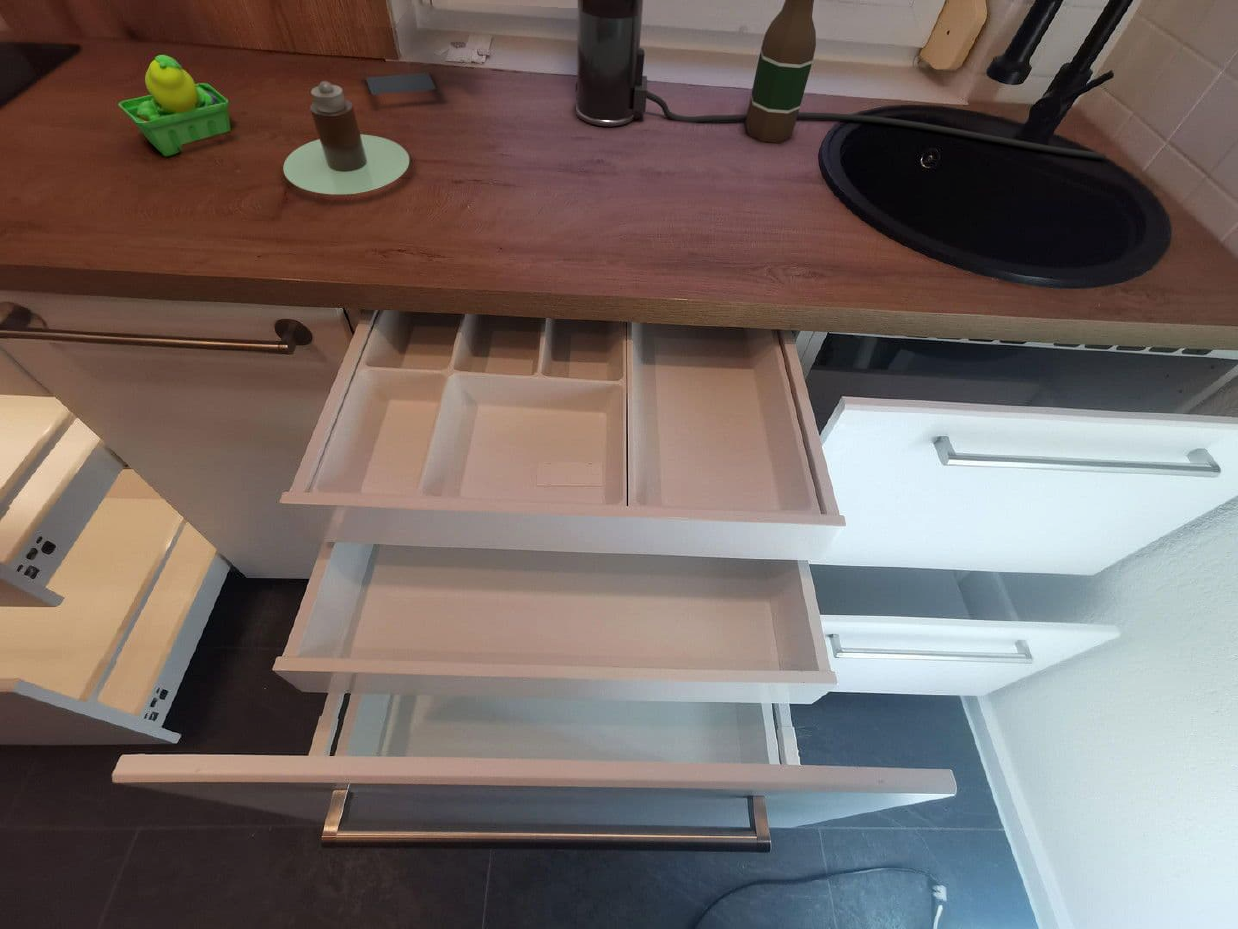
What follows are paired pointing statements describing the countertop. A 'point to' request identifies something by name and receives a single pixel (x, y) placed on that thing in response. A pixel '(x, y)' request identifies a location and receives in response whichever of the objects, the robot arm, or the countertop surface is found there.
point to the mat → (400, 83)
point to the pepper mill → (337, 128)
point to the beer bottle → (782, 73)
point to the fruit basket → (176, 108)
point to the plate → (380, 170)
